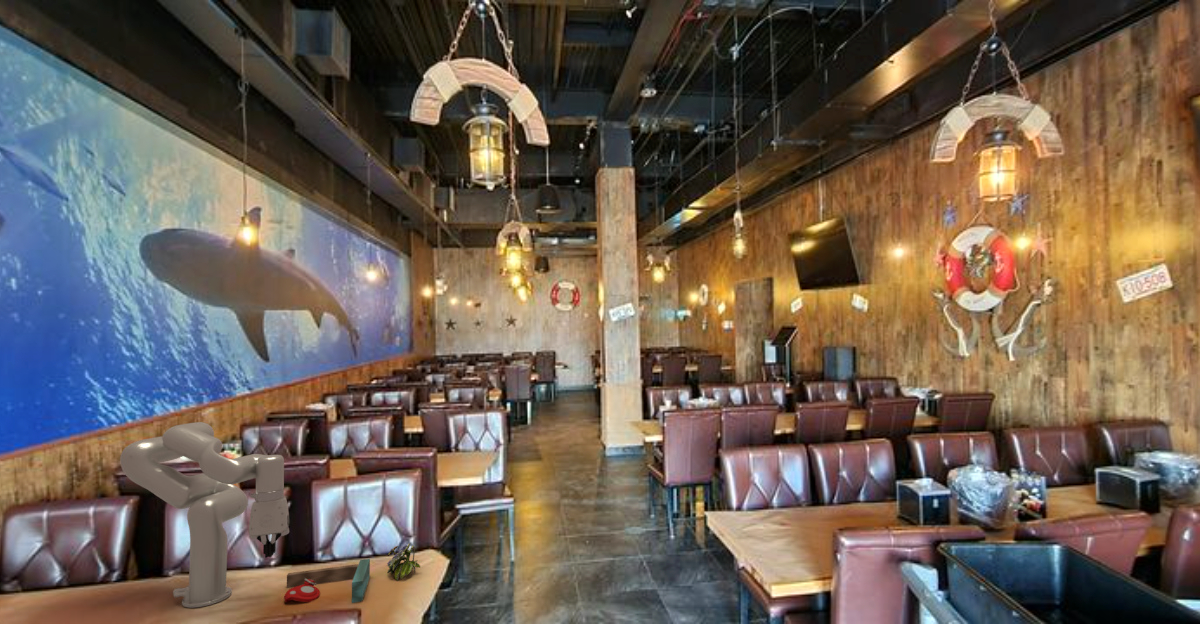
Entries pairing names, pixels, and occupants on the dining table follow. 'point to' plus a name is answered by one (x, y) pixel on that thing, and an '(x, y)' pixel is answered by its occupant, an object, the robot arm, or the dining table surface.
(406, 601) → the dining table surface
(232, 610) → the dining table surface
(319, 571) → the frame
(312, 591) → the tracker holder
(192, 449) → the robot arm
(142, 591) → the dining table surface
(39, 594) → the dining table surface
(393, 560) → the passion flower
